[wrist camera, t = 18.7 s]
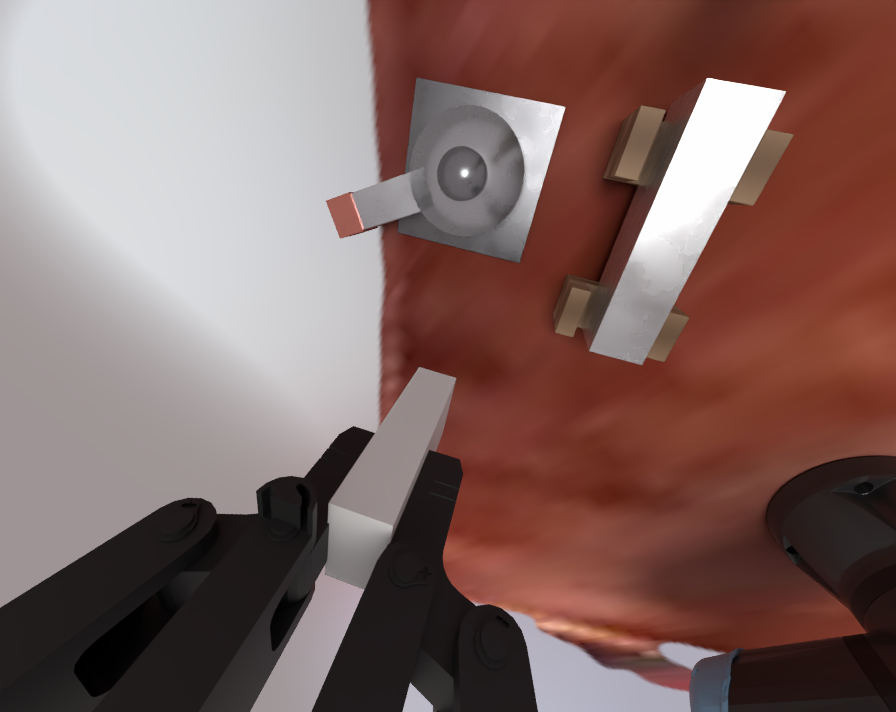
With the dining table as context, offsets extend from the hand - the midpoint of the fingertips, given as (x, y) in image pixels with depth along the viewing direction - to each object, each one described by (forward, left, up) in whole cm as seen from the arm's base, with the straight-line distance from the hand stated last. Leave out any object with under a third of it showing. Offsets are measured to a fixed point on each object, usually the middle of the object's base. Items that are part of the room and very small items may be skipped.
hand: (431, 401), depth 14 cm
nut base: (+8, +4, -22) cm, 24 cm away
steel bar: (+7, -11, -20) cm, 24 cm away
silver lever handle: (+6, +7, -22) cm, 24 cm away
